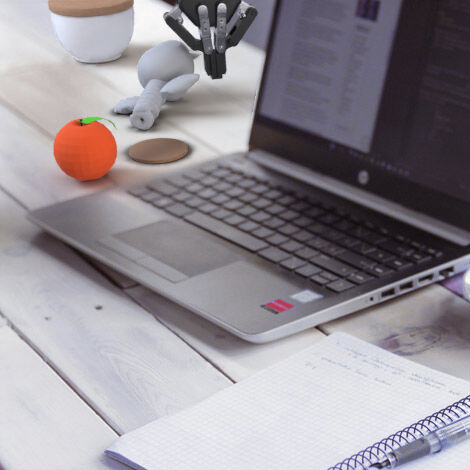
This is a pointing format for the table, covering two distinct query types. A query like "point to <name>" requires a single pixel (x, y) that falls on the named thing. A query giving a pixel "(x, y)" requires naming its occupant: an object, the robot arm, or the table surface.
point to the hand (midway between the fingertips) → (216, 77)
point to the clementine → (85, 149)
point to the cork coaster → (158, 150)
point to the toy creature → (160, 81)
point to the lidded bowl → (93, 27)
